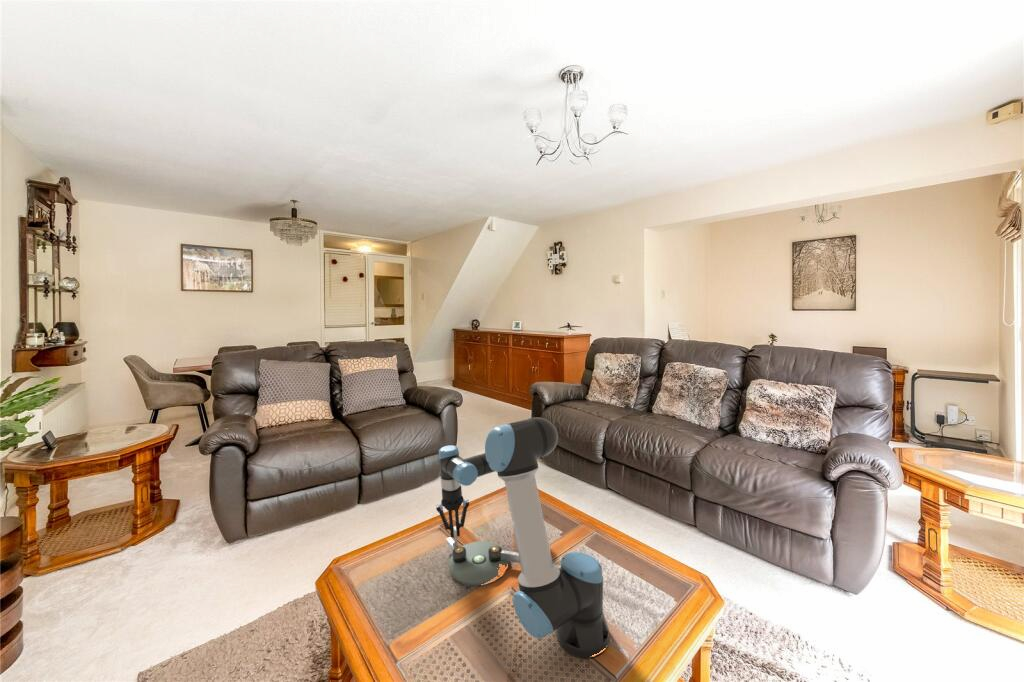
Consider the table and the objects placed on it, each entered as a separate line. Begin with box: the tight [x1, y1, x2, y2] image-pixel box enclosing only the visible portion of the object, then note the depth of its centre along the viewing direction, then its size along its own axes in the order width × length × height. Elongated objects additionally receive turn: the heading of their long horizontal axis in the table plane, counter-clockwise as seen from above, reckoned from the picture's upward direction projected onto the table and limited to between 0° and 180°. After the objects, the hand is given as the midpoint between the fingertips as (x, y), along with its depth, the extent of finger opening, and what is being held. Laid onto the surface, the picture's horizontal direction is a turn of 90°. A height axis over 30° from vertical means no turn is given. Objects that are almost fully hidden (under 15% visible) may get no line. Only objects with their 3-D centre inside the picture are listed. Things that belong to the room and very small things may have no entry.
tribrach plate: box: [448, 540, 510, 587], centre depth 144 cm, size 22×22×2 cm
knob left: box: [446, 536, 466, 563], centre depth 147 cm, size 12×5×4 cm, turn 33°
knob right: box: [488, 546, 520, 564], centre depth 143 cm, size 12×5×4 cm, turn 74°
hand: (456, 544), depth 151 cm, fingers closed
